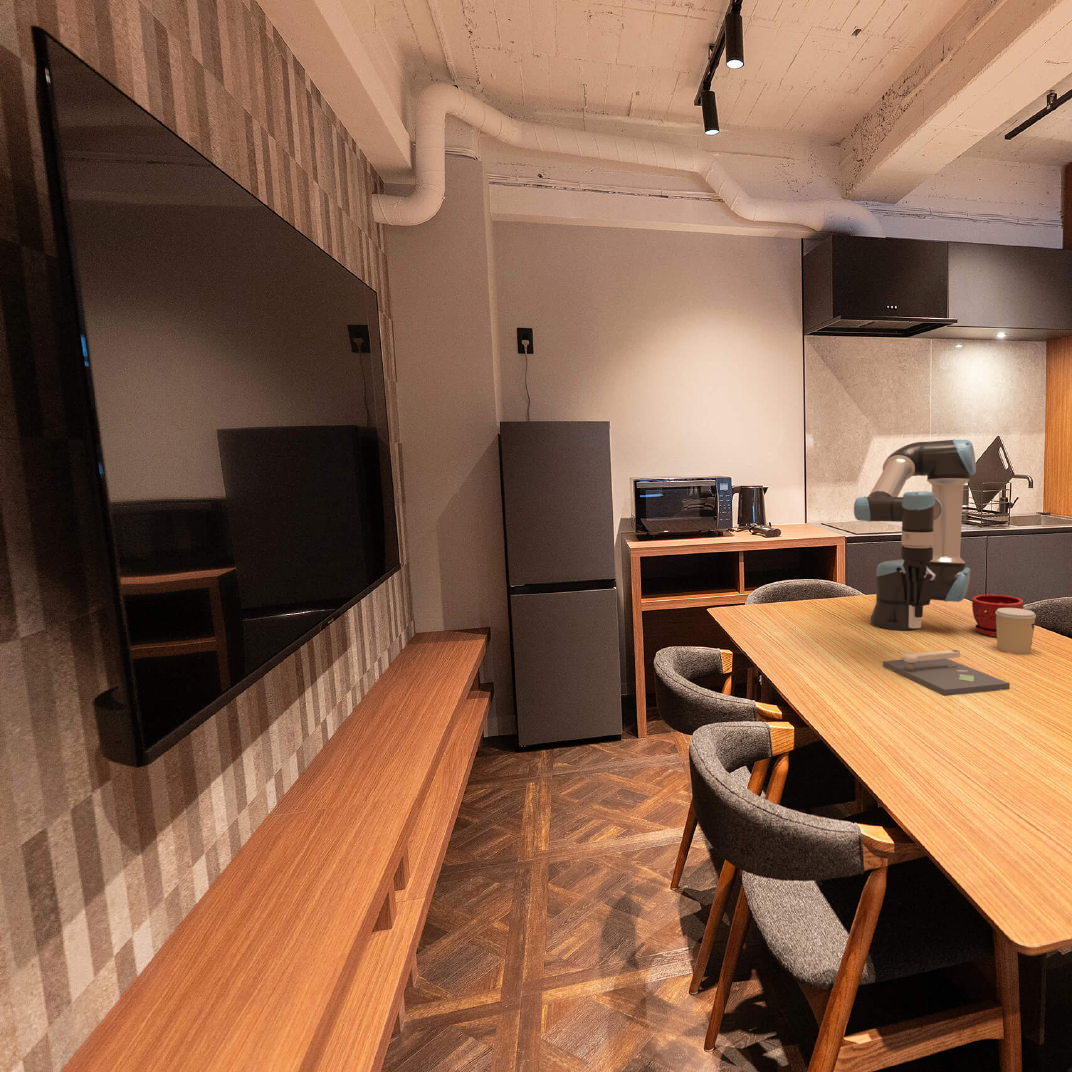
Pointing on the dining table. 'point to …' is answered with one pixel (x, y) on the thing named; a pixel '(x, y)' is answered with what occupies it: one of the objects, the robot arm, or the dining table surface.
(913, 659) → the knob-ended beige rod
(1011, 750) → the dining table surface
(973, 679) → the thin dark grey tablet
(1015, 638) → the coffee cup
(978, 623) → the plant pot
